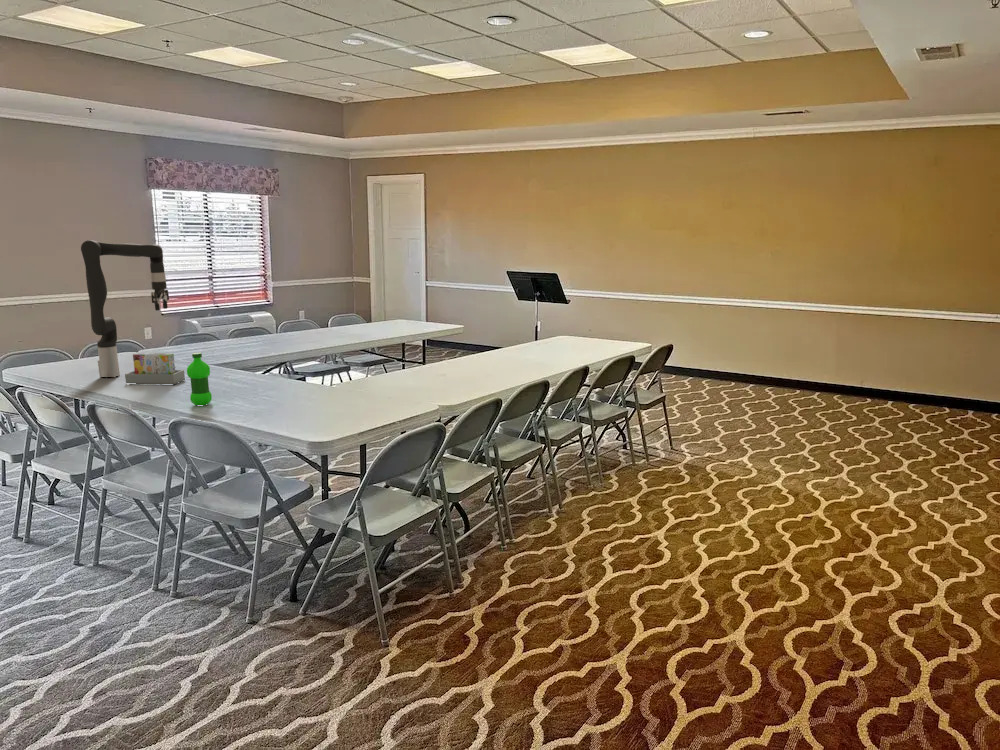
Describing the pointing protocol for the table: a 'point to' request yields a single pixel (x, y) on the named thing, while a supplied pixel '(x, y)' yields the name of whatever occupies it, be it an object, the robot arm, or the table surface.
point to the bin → (155, 378)
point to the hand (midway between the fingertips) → (161, 309)
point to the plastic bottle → (199, 380)
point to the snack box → (154, 363)
